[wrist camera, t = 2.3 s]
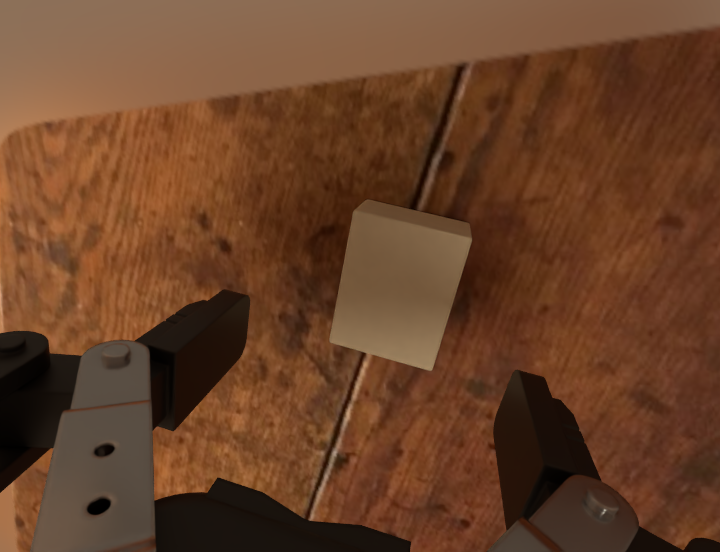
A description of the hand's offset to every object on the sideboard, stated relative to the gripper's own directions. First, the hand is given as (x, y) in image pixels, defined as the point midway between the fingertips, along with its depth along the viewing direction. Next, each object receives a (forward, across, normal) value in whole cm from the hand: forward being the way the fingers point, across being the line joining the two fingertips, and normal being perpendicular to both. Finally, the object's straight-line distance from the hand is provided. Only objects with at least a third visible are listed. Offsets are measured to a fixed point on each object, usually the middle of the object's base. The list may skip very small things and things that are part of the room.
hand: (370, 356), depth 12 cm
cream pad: (+7, 0, 0) cm, 7 cm away
